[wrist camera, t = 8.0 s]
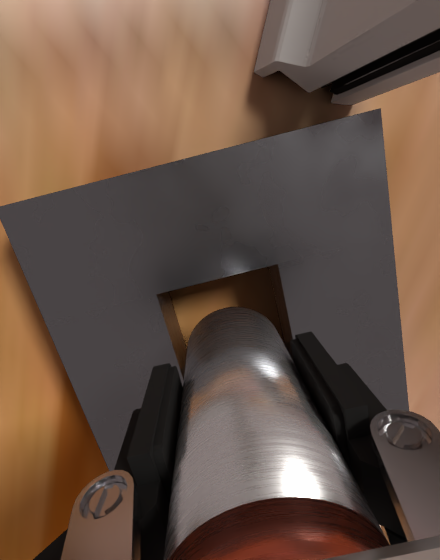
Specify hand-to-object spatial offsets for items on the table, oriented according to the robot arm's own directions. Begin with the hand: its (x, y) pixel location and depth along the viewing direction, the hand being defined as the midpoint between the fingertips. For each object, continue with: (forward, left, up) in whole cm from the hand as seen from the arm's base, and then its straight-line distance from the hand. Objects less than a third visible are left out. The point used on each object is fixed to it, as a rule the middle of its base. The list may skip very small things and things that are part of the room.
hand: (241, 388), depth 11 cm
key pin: (0, 0, -3) cm, 3 cm away
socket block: (0, 0, -7) cm, 7 cm away
